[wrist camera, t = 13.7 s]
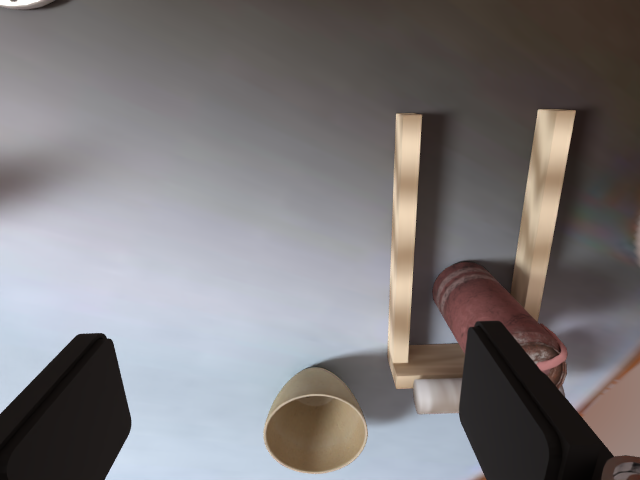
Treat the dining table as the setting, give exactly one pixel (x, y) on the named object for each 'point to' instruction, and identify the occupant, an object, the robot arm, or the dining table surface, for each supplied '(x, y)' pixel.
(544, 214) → the bay
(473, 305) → the can
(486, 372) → the robot arm
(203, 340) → the dining table surface
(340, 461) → the flower pot
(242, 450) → the dining table surface
